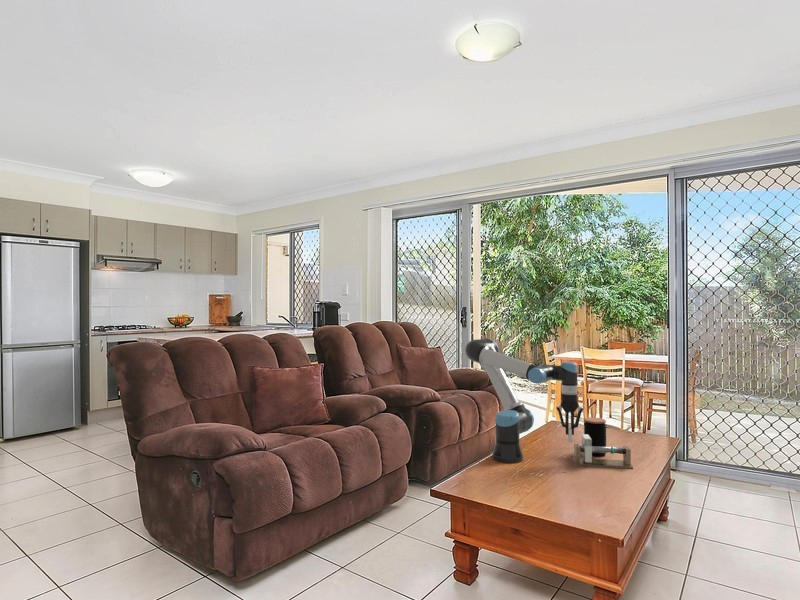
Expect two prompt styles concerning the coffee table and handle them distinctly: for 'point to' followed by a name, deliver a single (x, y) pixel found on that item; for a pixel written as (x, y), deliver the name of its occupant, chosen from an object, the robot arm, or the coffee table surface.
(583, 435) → the collar
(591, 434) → the coffee jar
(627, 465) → the rail
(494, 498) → the coffee table surface
